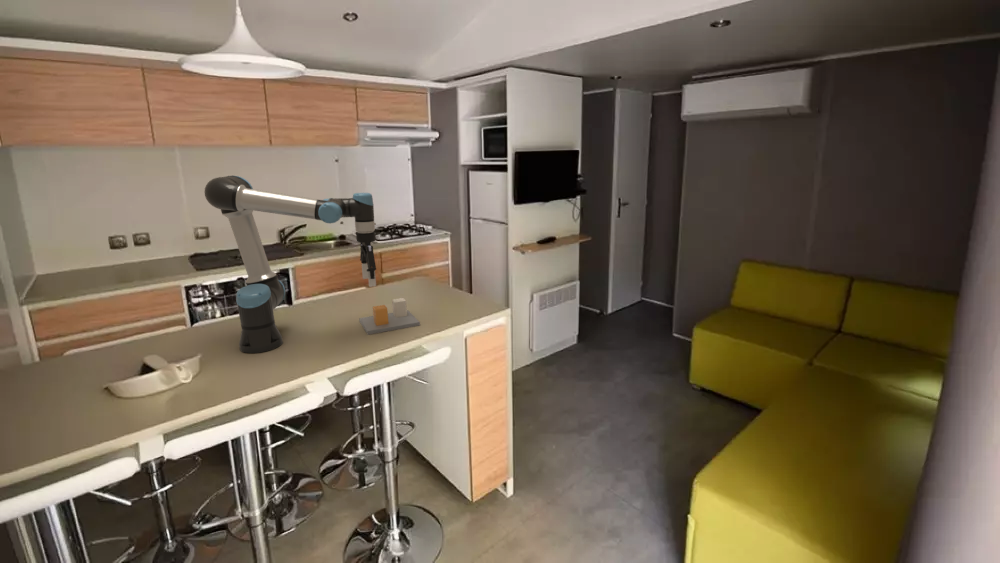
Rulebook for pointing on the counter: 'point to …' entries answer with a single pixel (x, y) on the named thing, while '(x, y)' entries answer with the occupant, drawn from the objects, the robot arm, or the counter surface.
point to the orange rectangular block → (380, 315)
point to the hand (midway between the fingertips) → (369, 282)
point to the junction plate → (391, 319)
